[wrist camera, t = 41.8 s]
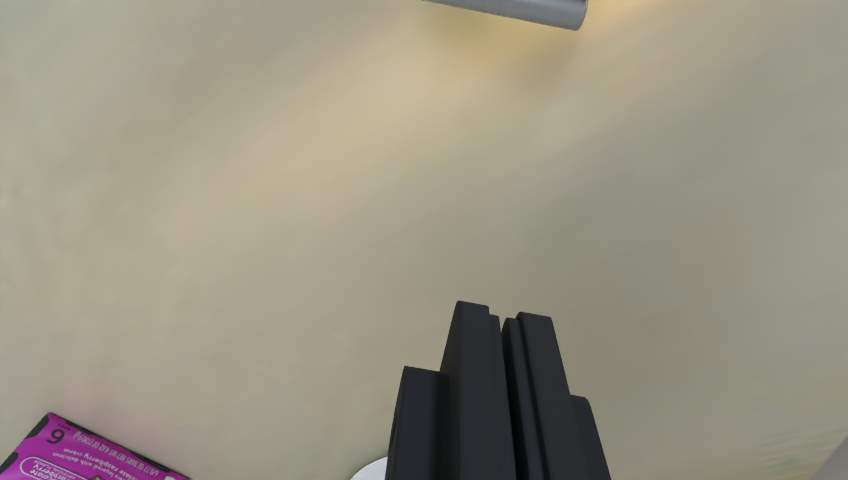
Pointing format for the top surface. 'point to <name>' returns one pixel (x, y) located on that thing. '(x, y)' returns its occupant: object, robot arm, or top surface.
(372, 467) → the candle holder
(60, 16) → the top surface
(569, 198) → the top surface
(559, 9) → the drawer
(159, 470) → the candy bar box
